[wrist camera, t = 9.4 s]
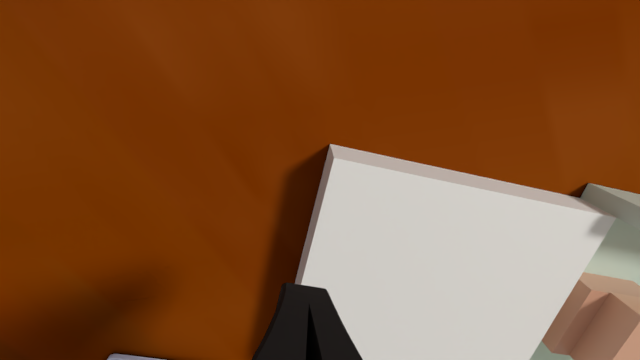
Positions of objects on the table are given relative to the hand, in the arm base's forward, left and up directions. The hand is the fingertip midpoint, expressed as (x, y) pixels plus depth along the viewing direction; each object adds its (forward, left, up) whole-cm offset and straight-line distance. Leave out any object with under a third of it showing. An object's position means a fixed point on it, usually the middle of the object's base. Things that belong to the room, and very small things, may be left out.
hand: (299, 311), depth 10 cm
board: (-4, -9, -9) cm, 13 cm away
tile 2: (-4, -21, -7) cm, 23 cm away
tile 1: (-4, -20, -9) cm, 22 cm away
